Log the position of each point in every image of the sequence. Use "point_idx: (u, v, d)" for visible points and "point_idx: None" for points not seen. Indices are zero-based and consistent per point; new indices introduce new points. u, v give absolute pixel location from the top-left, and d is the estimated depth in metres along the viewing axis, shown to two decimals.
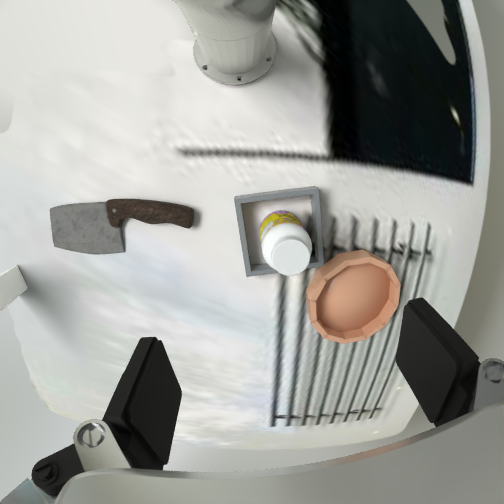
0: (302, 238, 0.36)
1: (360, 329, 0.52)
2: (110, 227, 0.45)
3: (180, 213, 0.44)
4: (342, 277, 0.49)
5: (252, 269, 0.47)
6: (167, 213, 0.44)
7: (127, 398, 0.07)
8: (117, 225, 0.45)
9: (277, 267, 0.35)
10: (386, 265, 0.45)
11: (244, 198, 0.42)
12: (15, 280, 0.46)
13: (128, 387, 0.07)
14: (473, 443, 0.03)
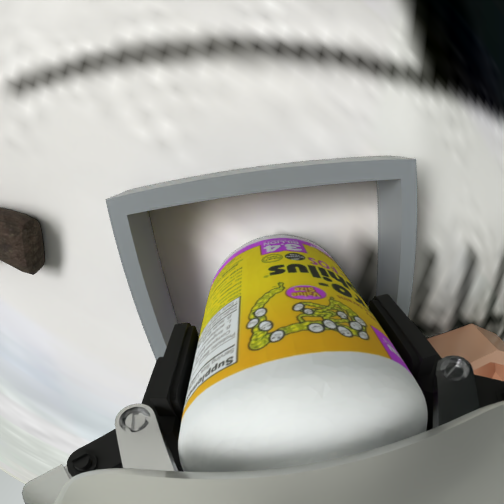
0: None
1: None
2: None
3: (5, 235, 0.11)
4: None
5: None
6: None
7: (171, 380, 0.07)
8: None
9: None
10: None
11: (139, 195, 0.10)
12: None
13: (170, 370, 0.08)
14: (473, 443, 0.03)
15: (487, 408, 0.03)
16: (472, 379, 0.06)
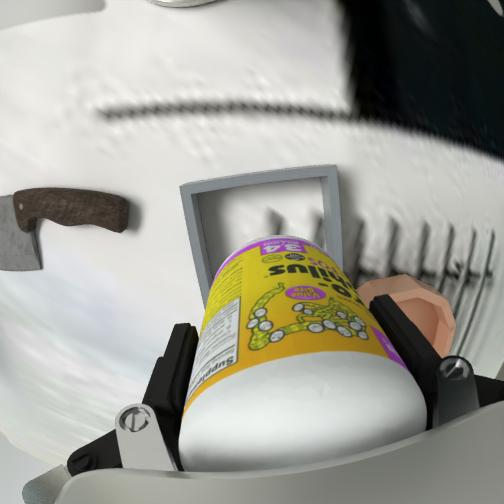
0: None
1: None
2: (20, 232, 0.25)
3: (104, 207, 0.23)
4: None
5: None
6: (86, 208, 0.23)
7: (171, 380, 0.07)
8: (26, 229, 0.24)
9: None
10: (441, 299, 0.25)
11: (197, 184, 0.22)
12: None
13: (170, 370, 0.08)
14: (473, 443, 0.03)
15: (487, 408, 0.03)
16: (472, 379, 0.06)
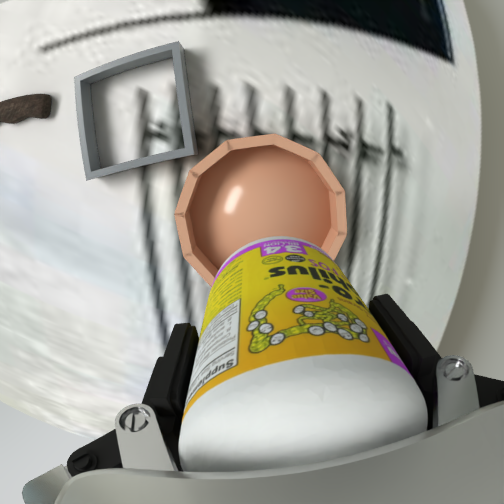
0: None
1: None
2: None
3: (35, 101, 0.24)
4: (236, 180, 0.29)
5: (96, 170, 0.28)
6: (24, 104, 0.24)
7: (171, 380, 0.07)
8: None
9: None
10: (309, 151, 0.26)
11: (84, 73, 0.23)
12: None
13: (170, 370, 0.08)
14: (473, 443, 0.03)
15: (487, 408, 0.03)
16: (472, 379, 0.06)
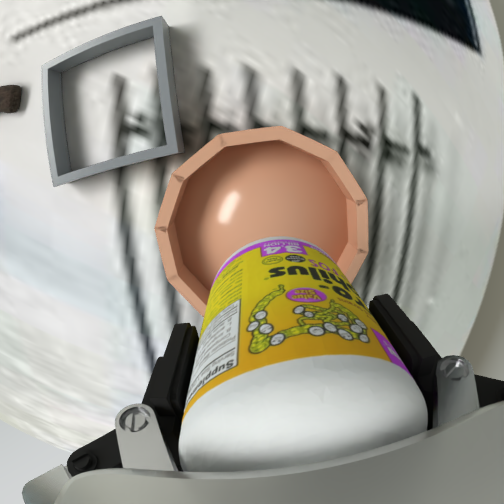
0: None
1: None
2: None
3: (3, 93, 0.18)
4: (232, 185, 0.24)
5: None
6: None
7: (171, 380, 0.07)
8: None
9: None
10: (324, 149, 0.20)
11: (53, 60, 0.17)
12: None
13: (170, 370, 0.08)
14: (473, 443, 0.03)
15: (487, 408, 0.03)
16: (472, 379, 0.06)
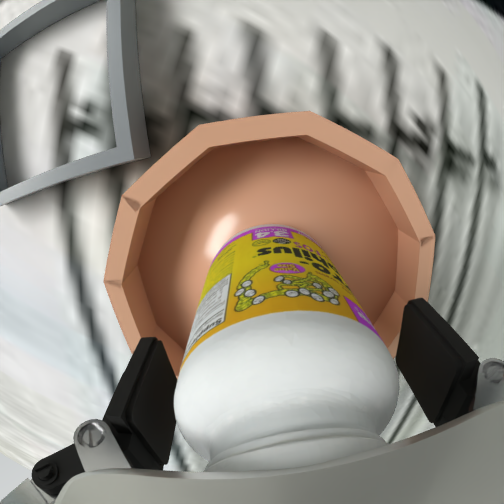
0: (371, 397, 0.06)
1: None
2: None
3: None
4: (224, 209, 0.15)
5: None
6: None
7: (128, 398, 0.07)
8: None
9: None
10: (380, 154, 0.11)
11: None
12: None
13: (128, 387, 0.07)
14: (473, 443, 0.03)
15: (487, 408, 0.03)
16: None
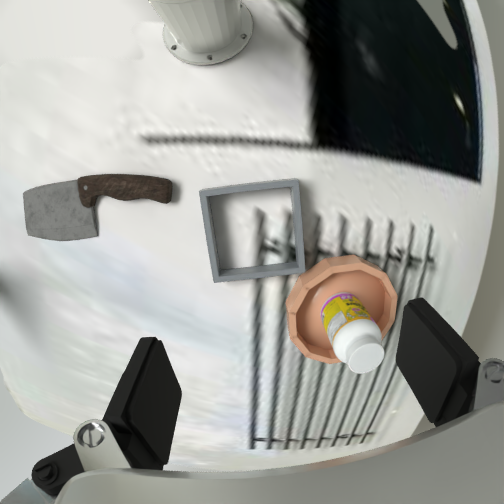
0: (375, 335, 0.33)
1: None
2: (82, 208, 0.38)
3: (156, 185, 0.37)
4: (328, 287, 0.42)
5: (221, 274, 0.40)
6: (142, 186, 0.36)
7: (127, 398, 0.07)
8: (89, 204, 0.38)
9: (352, 367, 0.31)
10: (380, 273, 0.39)
11: (210, 190, 0.36)
12: None
13: (128, 387, 0.07)
14: (473, 443, 0.03)
15: (487, 408, 0.03)
16: None
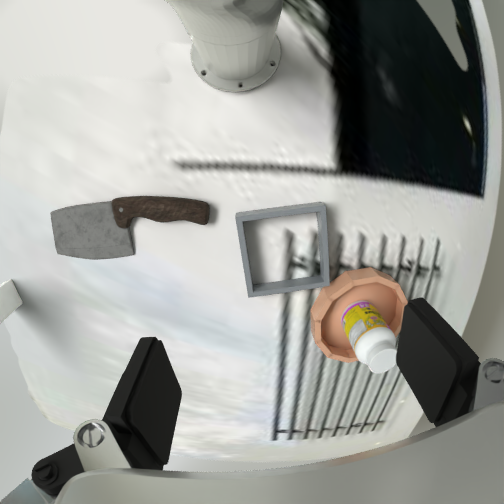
0: (391, 340, 0.37)
1: None
2: (117, 228, 0.42)
3: (195, 208, 0.40)
4: (348, 296, 0.46)
5: (254, 289, 0.44)
6: (180, 209, 0.40)
7: (128, 398, 0.07)
8: (125, 226, 0.41)
9: (372, 369, 0.36)
10: (394, 284, 0.43)
11: (246, 216, 0.40)
12: (9, 295, 0.44)
13: (128, 387, 0.07)
14: (473, 443, 0.03)
15: (487, 408, 0.03)
16: None
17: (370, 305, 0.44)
